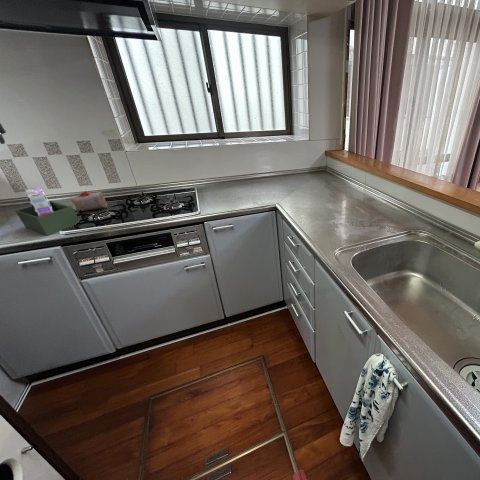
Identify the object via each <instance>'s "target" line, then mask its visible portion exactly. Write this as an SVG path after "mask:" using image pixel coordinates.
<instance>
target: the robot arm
mask: <svg viewBox="0 0 480 480" xmlns="http://www.w3.org/2000/svg"><path fill="white" fill-rule="evenodd" d="M6 133H7V132H6V129H5V128H4V127H3V124H2V123H1V122H0V144H1V145H4V144H5V143H6V140H5V138H4V136H3V135H5V134H6Z"/></svg>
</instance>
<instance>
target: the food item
mask: <svg viewBox="0 0 480 480" xmlns="http://www.w3.org/2000/svg"><path fill="white" fill-rule="evenodd" d="M70 201H71V202H72V204H73V205H74V207H75V209H76V211H77V212H78V213H80V212H79V211H80V210H82V211H84V212H89V211H94V210H95V211H96V210H102V209H106V208H107V207H108V203H107V201H106V199H105V197H104V194H103V192H102V191H97V192H90V191H88V190H85V191H83V192H81V193H80V194H78V195H73V196H71V198H70Z"/></svg>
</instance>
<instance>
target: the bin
mask: <svg viewBox="0 0 480 480" xmlns="http://www.w3.org/2000/svg"><path fill="white" fill-rule="evenodd" d="M48 201H49V203H50V205H51V207H52V209H53V211H54V212H52V213H49V214H46V215H42V216H39V217H38V215H37V213H36V212H35V210H34V208H33V207H32V205H30V206H26V207H24V208H19V209H16V210H15V211H14V212H15V214H16V215H17V216H18V218H19V219H20V221H21V222H22V224H23V226H24V227H25V228H26V229H27V230H31V231H33V232H36V233H39V234H42V235H44V236H47V237H48V236H52V235H54V234H56V233H58V232H61V230H62V231H64V230H67V229H69V227H70V228H72V226H73V227H75V226H77V225H76V224H77V223H79V222H80V223H81V220H80V219H79V217H78V215H77V213H76V212H75V209H74V208H73V206H72V205H67V204H65V203H60V202H57V201H53V200H48ZM74 225H75V226H74ZM66 228H67V229H66ZM63 229H64V230H63Z"/></svg>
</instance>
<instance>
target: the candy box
mask: <svg viewBox="0 0 480 480" xmlns="http://www.w3.org/2000/svg"><path fill="white" fill-rule="evenodd" d="M23 191H24V193H25V196H26V198H27V200H28V202H29V203H30V206H32V207H33V208H34V210H35V212H36V213H37V215H38V217H39V216H42V215H46V214H49V213H52V212H54V211H53V209H52V207H51V205H50V203H49V201H50V200H49V199H48V197H47V196H46V194H45V192H44V191H43V189H42V188H41V187H35V188H29V189H24V190H23Z"/></svg>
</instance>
